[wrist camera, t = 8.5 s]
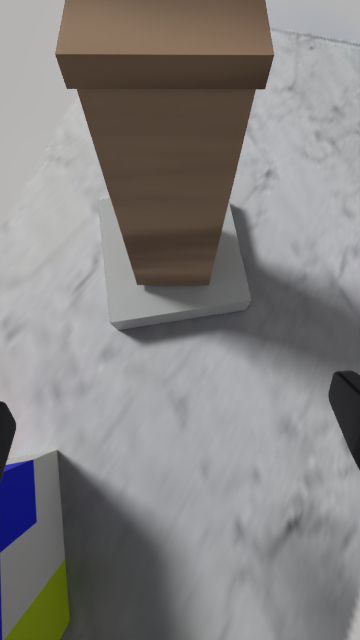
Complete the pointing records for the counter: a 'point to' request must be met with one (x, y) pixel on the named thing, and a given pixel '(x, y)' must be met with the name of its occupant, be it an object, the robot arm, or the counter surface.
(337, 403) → the robot arm
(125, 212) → the walnut canister
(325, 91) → the counter surface
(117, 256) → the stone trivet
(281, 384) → the counter surface
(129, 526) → the counter surface
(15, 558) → the puzzle toy
